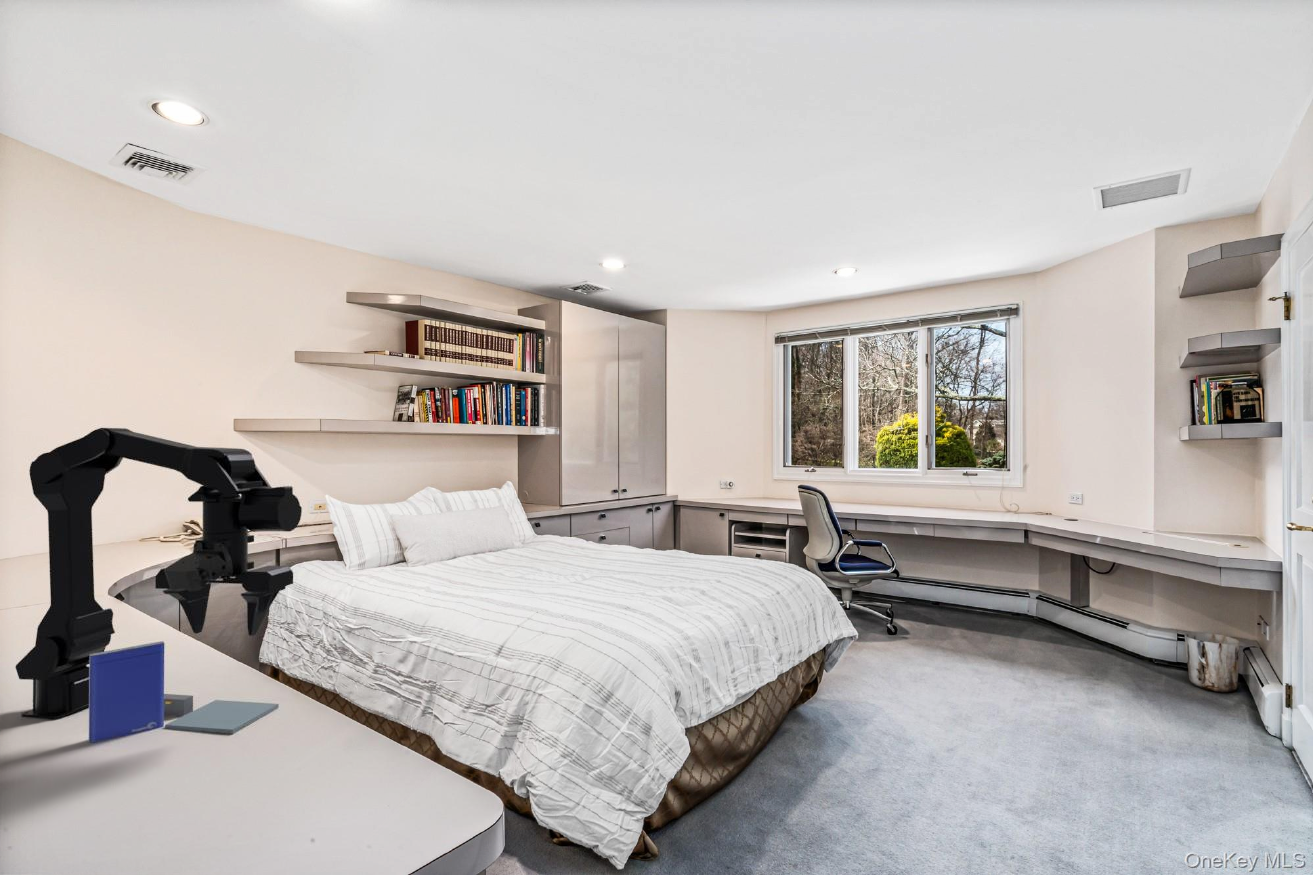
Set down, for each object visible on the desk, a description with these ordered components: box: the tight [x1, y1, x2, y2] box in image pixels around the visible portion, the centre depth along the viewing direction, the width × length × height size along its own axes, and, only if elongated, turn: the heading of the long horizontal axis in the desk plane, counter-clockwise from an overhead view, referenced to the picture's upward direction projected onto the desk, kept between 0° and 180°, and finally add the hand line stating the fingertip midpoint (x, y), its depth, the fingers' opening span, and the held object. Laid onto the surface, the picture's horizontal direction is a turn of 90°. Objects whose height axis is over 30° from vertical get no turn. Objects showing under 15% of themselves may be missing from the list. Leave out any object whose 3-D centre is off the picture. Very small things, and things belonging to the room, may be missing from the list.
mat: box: [164, 699, 279, 735], centre depth 96 cm, size 11×9×1 cm
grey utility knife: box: [164, 693, 194, 717], centre depth 98 cm, size 12×2×2 cm, turn 82°
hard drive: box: [88, 640, 165, 743], centre depth 90 cm, size 2×8×12 cm, turn 136°
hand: (225, 634), depth 96 cm, fingers open, 9 cm apart
